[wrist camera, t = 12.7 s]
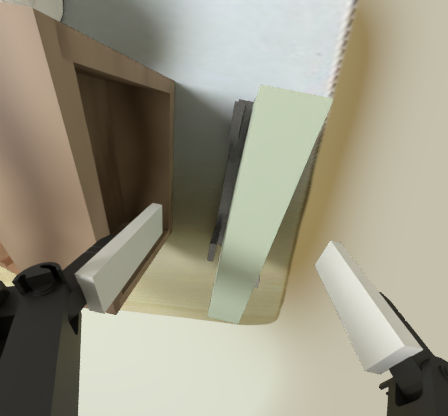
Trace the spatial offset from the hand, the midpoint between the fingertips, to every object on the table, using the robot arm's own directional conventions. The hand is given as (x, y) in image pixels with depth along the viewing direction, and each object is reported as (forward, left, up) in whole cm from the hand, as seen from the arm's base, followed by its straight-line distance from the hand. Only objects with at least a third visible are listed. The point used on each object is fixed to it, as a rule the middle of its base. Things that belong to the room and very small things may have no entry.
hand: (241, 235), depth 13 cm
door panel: (0, 0, -9) cm, 9 cm away
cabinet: (-14, 0, -10) cm, 17 cm away
